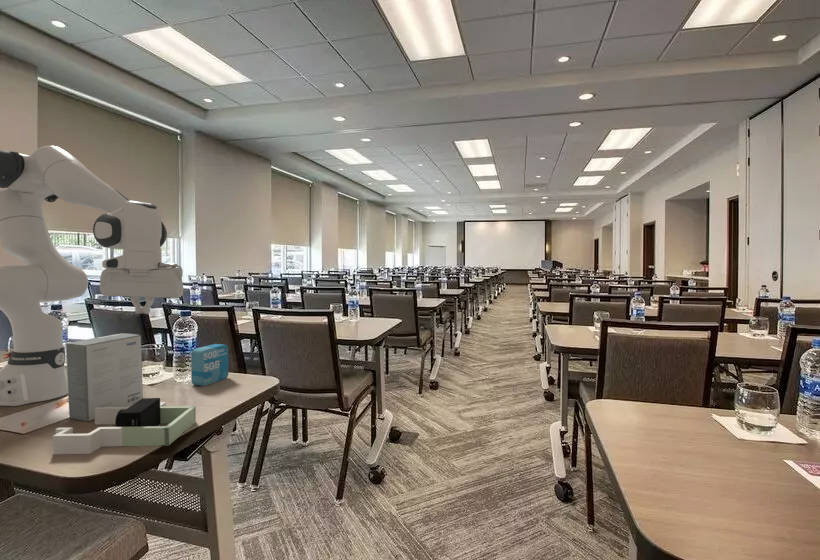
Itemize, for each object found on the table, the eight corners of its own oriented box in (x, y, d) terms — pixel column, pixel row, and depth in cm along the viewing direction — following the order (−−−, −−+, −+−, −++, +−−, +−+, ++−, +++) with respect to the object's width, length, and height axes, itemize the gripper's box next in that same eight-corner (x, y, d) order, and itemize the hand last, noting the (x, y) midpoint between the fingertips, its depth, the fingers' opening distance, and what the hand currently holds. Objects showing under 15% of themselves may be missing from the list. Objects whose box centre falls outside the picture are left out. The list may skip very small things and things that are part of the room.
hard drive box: (125, 400, 125) (124, 332, 124) (144, 403, 122) (143, 334, 121) (67, 418, 111) (65, 342, 110) (86, 422, 108) (84, 344, 107)
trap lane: (43, 454, 90) (42, 436, 90) (106, 417, 111) (106, 402, 111) (161, 452, 92) (160, 434, 92) (201, 416, 113) (201, 401, 113)
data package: (201, 387, 138) (201, 350, 138) (191, 385, 140) (190, 349, 139) (228, 377, 150) (228, 343, 149) (218, 376, 151) (218, 342, 150)
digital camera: (137, 425, 107) (136, 397, 107) (160, 424, 108) (160, 397, 107) (115, 443, 97) (114, 412, 96) (140, 442, 97) (140, 411, 97)
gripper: (187, 263, 118) (187, 313, 119) (111, 260, 117) (111, 310, 118) (176, 263, 112) (176, 316, 113) (95, 261, 111) (96, 314, 111)
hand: (142, 313), depth 115 cm, fingers closed
